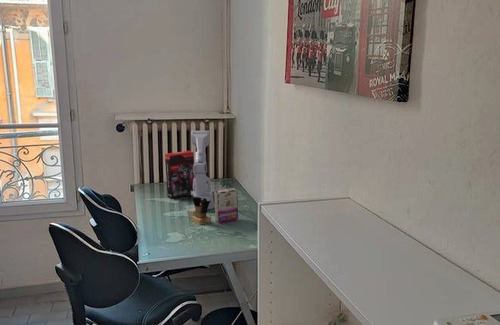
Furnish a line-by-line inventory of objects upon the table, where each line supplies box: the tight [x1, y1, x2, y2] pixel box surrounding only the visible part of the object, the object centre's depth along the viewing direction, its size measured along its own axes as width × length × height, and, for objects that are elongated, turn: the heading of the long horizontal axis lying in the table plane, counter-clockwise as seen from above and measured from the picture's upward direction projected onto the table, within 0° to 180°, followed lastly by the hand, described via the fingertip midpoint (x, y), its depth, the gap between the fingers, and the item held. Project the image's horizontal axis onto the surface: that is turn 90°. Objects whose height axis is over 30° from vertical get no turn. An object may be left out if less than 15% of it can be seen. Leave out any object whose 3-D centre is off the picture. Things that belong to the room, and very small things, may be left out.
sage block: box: [187, 207, 195, 219], centre depth 229 cm, size 4×4×4 cm
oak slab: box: [191, 214, 212, 226], centre depth 222 cm, size 7×7×3 cm
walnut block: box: [194, 205, 208, 219], centre depth 221 cm, size 4×4×6 cm
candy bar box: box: [214, 187, 239, 224], centre depth 222 cm, size 11×5×16 cm, turn 118°
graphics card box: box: [164, 150, 195, 200], centre depth 265 cm, size 17×7×27 cm, turn 129°
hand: (201, 211), depth 221 cm, fingers open, 5 cm apart
